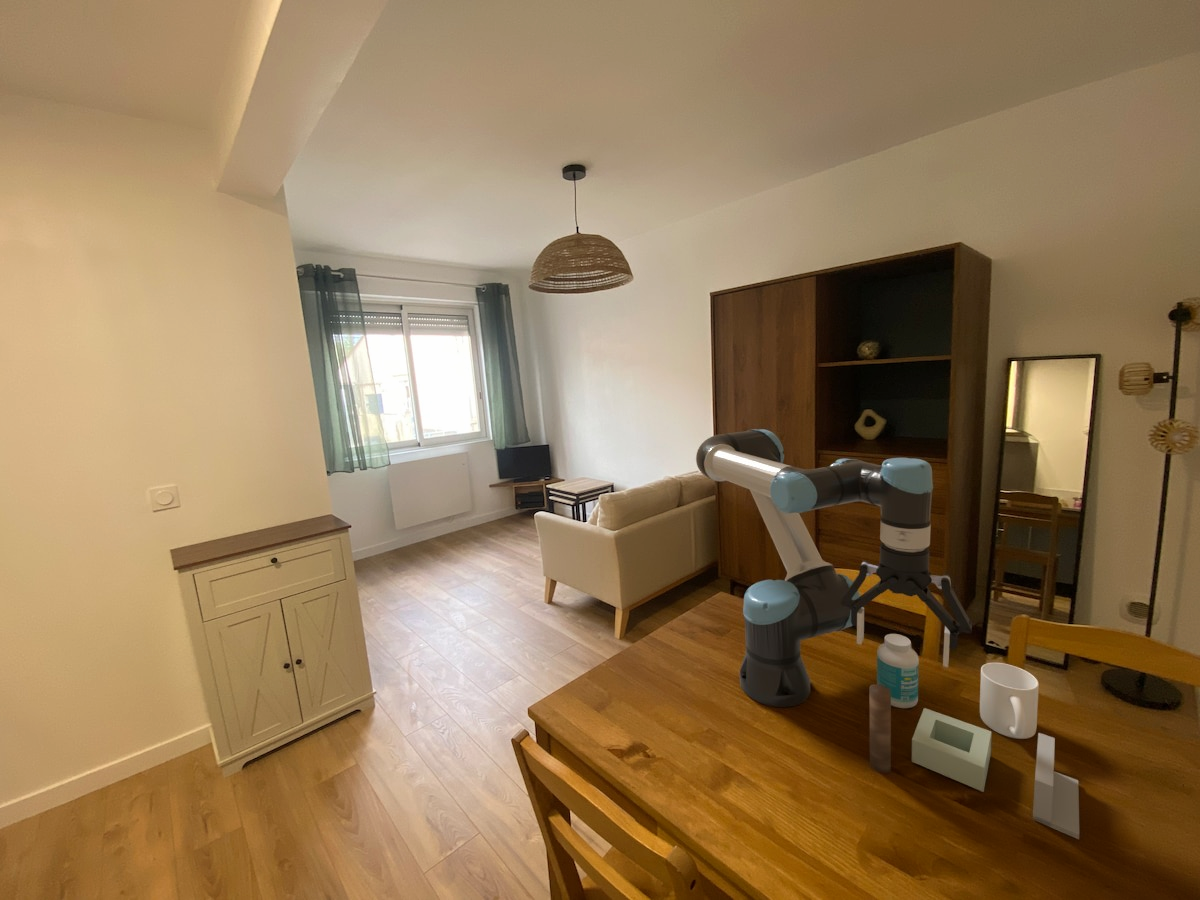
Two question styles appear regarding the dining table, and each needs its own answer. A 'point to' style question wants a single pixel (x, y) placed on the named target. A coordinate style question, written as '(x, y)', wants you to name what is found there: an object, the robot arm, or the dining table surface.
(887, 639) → the pill bottle
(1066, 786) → the grey l-shaped piece
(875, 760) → the dowel
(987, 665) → the mug
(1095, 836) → the dining table surface
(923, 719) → the block
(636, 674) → the dining table surface
